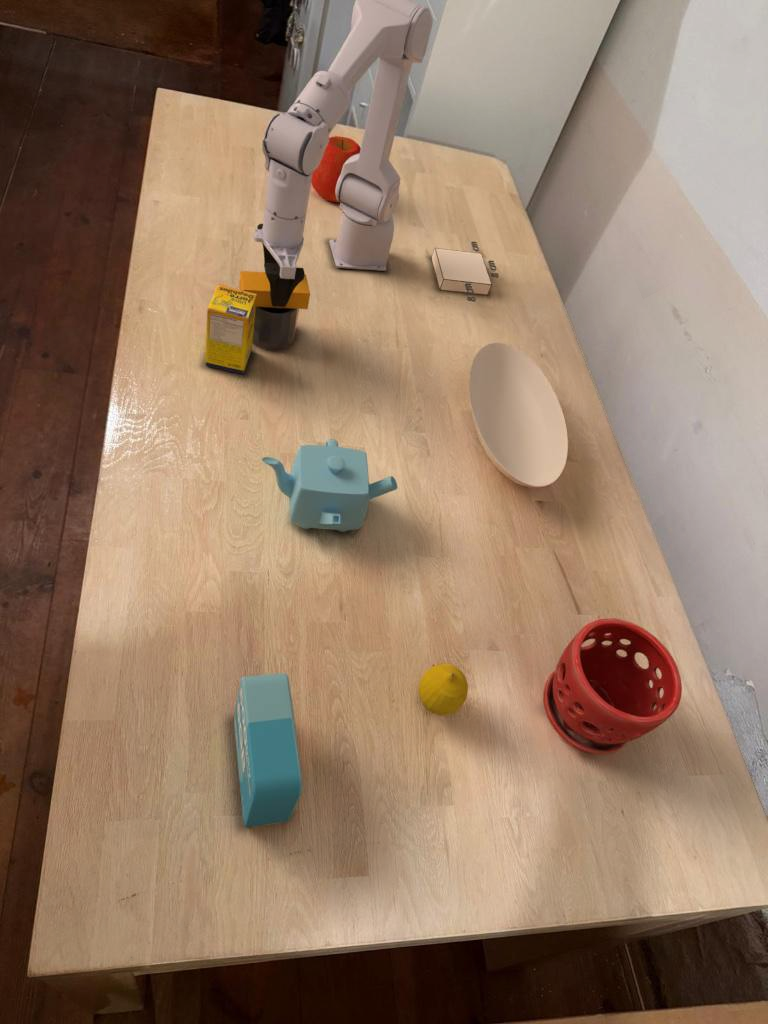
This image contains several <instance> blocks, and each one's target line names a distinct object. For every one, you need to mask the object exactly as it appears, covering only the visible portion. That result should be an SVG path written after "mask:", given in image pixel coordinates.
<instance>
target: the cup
mask: <svg viewBox="0 0 768 1024" xmlns="http://www.w3.org/2000/svg"><path fill="white" fill-rule="evenodd" d="M299 311H300V309H292V308H271V307H256V310H255V321H254V332H253V342H252V345H255V346H256V347H259V348H261V349H265V350H270V351H278V350H283V349H285V348H287V347H289V346H291V344H292V343H293V342H294V339H295V335H296V329H297V324H298V318H299Z"/></svg>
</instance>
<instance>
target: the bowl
mask: <svg viewBox="0 0 768 1024" xmlns="http://www.w3.org/2000/svg"><path fill="white" fill-rule="evenodd" d="M469 369H470V370H469V373H468V374H469V375H468V398H469V399H468V400H469V407H470V412H471V417H472V422H473V426H474V429H475V432H476V435H477V437H478V440H479V443H480V444H481V447H482V448H483V450H484V452H485V454H486V455H487V457H488V458H489V460H490V461H491V463H492V464H493V465H494V467H496V469H497V471H499V472H500V473H501V474H502V475H503V476H504V477H505V478H507V479H508V480H510V481H511V482H514V483H515V484H518V485H521V486H524V487H528V488H544V487H548V486H550V485H551V484H553V483H554V482H556V481H557V479H559V477H560V476H561V474H562V473H563V471H564V469H565V466H566V463H567V458H568V453H569V451H568V450H569V440H568V439H569V437H568V430H567V424H566V419H565V415H564V412H563V409H562V406H561V404H560V401H559V398H558V396H557V394H556V392H555V391H554V388H553V386H552V385H551V383H550V381H549V380H548V378H547V376H546V375H545V373H544V371H542V370H541V368H540V366H538V365H537V363H535V361H534V360H533V359H532V358H531V357H529V356H528V355H527V354H526V353H525V352H523V351H522V350H520V349H519V348H517V347H515V346H514V345H512V344H508V343H505V342H492V343H488V344H485V345H484V346H483V347H482V348H480V349H479V350H478V351H477V353H476V354H475V355H474V358H473V360H472V363H471V365H470V368H469Z"/></svg>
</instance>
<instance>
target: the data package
mask: <svg viewBox="0 0 768 1024" xmlns="http://www.w3.org/2000/svg"><path fill="white" fill-rule="evenodd" d="M292 699H293V698H292V692H291V685H290V679H289V676H288V674H287V673H286V672H278V673H267V674H259V675H258V674H256V675H248V676H242V677H241V678H240V681H239V686H238V692H237V698H236V704H235V710H234V717H233V719H234V720H233V721H234V722H233V723H234V725H233V726H234V736H235V746H236V748H235V749H236V757H237V759H236V760H237V768H238V779H239V790H240V791H239V792H240V802H241V803H240V804H241V812H242V813H241V814H242V822H243V826H244V827H245V828H254V827H260V826H267V825H271V824H272V825H274V824H280V823H285V822H287V823H288V822H289V821H290V820H291V818H292V816H293V814H294V811H295V809H296V807H297V805H298V803H299V800H300V798H301V796H302V794H303V772H302V771H303V770H302V763H301V757H300V751H299V744H298V736H297V728H296V722H295V713H294V707H293V701H292Z"/></svg>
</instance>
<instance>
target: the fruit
mask: <svg viewBox="0 0 768 1024" xmlns="http://www.w3.org/2000/svg"><path fill="white" fill-rule="evenodd" d="M468 691H469V684H468V681H467V677H466V675H465V674H464V672H463V671H462V670H461V669H460V668H459V667H457V666H455V665H453V664H451V663H439V664H436V665H433V666H431V667H430V668H428V669H427V670H426V671H425V672H424V673H423V674H422V676H421V678H420V681H419V684H418V698H419V700H420V702H421V704H422V706H423V707H424V708H425V709H426V710H427V711H429V713H432V714H433V715H434V714H435V715H436V716H449V715H452V714H454V713H457V712H458V711H459V710H460V709H461V708H462V707H463V705H464V704H465V702H466V700H467V698H468V693H469V692H468Z"/></svg>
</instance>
